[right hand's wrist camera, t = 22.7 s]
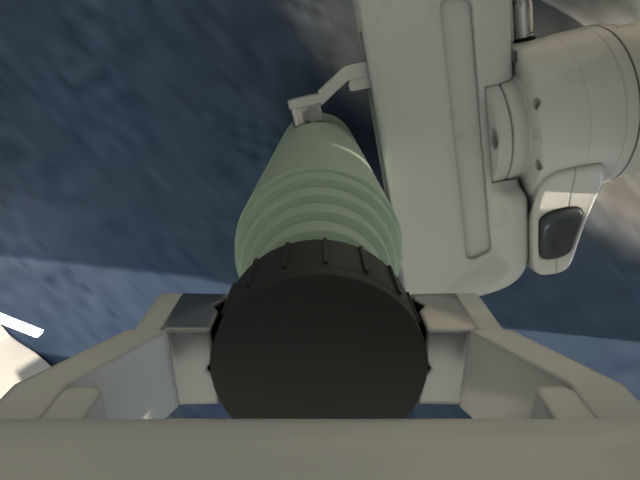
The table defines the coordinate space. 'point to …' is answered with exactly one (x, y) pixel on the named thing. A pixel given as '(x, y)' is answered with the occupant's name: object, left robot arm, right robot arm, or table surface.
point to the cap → (319, 337)
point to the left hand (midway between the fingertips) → (304, 170)
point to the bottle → (318, 197)
